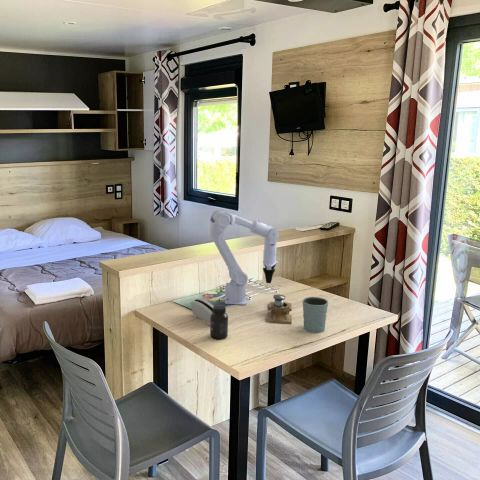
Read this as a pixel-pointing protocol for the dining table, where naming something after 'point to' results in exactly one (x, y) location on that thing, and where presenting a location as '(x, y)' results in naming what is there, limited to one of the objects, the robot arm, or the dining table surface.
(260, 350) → the dining table surface
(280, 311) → the hinge leaves
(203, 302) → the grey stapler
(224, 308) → the supplement bottle
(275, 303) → the pin
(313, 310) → the teal cup
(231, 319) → the dining table surface
